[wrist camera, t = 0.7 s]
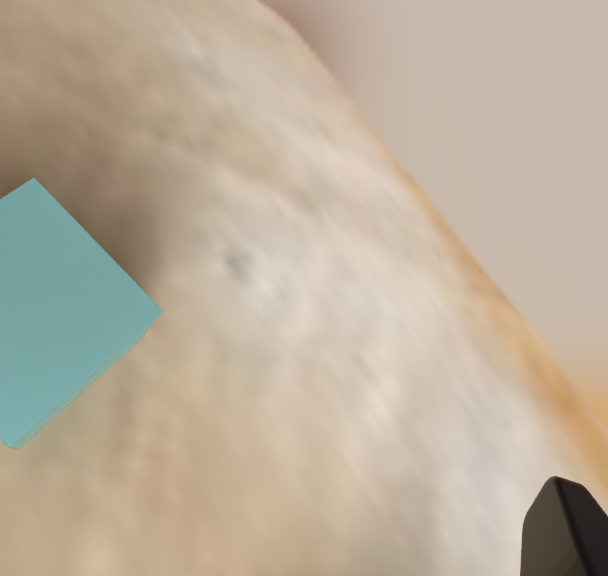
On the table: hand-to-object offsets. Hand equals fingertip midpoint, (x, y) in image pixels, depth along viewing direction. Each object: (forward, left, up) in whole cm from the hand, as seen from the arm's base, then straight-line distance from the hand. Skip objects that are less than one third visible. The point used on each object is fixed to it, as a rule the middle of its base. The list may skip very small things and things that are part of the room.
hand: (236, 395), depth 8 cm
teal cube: (0, +5, -17) cm, 17 cm away
